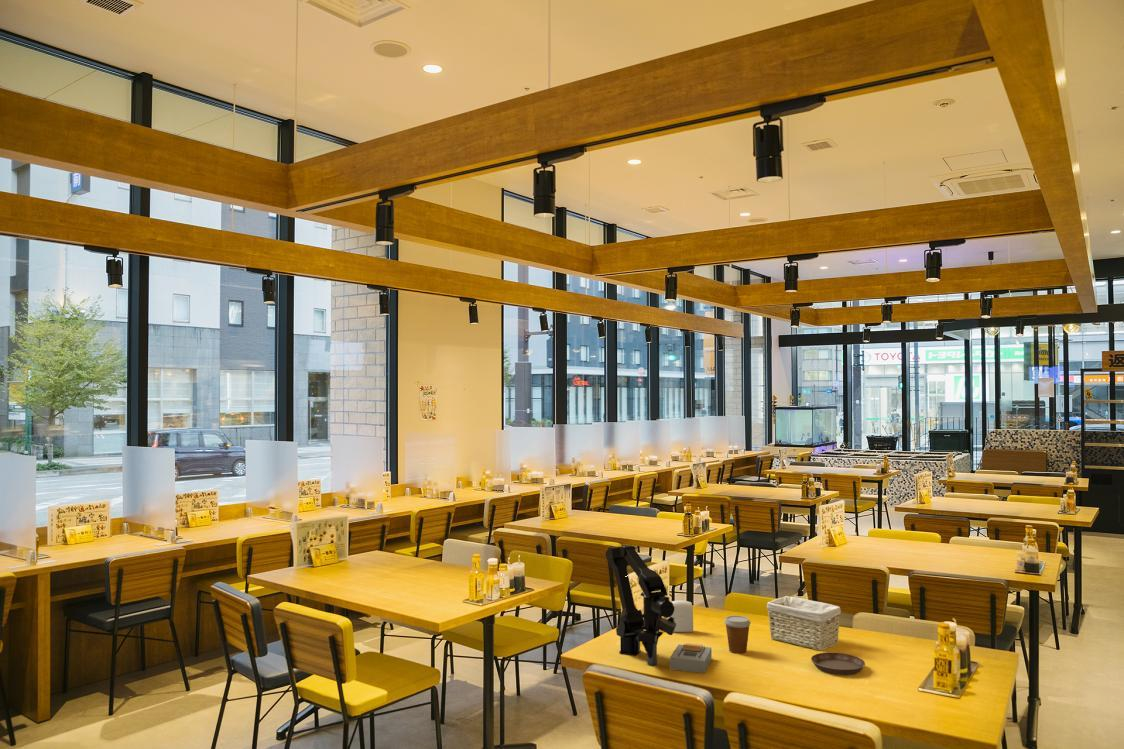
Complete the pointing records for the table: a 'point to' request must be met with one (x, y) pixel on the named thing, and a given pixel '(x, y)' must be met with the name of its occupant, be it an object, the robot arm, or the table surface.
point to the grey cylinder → (653, 657)
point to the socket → (690, 659)
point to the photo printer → (683, 616)
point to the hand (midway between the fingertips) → (652, 655)
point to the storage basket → (804, 622)
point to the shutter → (692, 647)
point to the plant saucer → (838, 663)
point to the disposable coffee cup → (737, 633)
